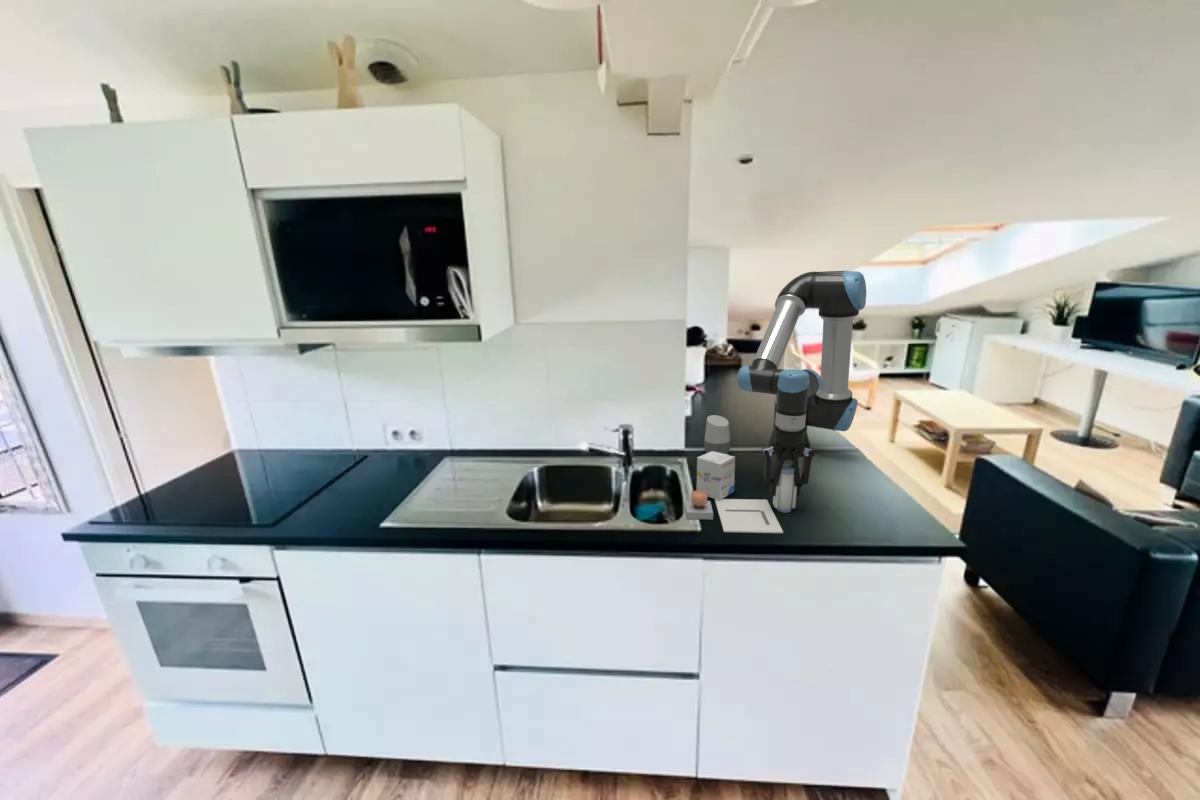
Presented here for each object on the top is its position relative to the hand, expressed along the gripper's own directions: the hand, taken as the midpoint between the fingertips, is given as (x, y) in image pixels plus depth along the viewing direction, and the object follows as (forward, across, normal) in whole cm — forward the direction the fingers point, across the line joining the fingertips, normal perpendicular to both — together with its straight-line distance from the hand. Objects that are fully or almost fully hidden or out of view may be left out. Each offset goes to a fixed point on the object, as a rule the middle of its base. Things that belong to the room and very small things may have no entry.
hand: (783, 505), depth 137 cm
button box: (+1, -24, -3) cm, 24 cm away
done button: (0, -24, -3) cm, 24 cm away
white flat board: (+1, -11, -4) cm, 12 cm away
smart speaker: (+1, -13, +42) cm, 44 cm away
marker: (+1, 0, 0) cm, 1 cm away
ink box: (+1, -18, +10) cm, 20 cm away
